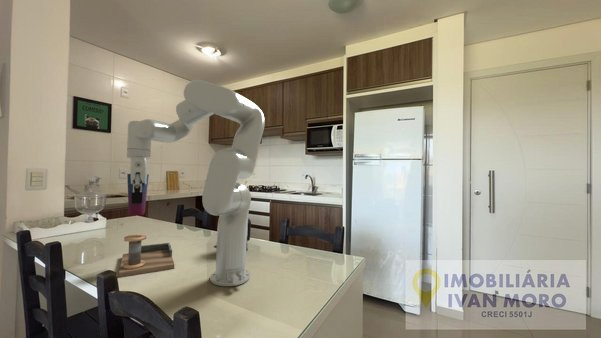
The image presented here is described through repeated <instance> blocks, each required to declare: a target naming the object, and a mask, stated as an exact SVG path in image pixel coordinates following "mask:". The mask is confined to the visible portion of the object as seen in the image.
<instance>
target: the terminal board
mask: <svg viewBox="0 0 601 338" xmlns="http://www.w3.org/2000/svg"><path fill="white" fill-rule="evenodd" d="M146 239H147V235H146V234H142V233H141V234H137V233H136V234H131V235H129V234H128V235H126V236H124V237H123V241H124V242H128V253H123V254H122V256H121V262H120V267H119V270H118V271H119V272H118V278H123V277H129V276H136V275H141V274H149V273H154V272H160V271H167V270H173V269H175V261H174V259H173V248H172V246H171V243H170V242H164V243H156V244H153V243H152V244H144V245H142V241H144V240H146Z"/></svg>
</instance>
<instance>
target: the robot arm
mask: <svg viewBox="0 0 601 338" xmlns="http://www.w3.org/2000/svg"><path fill="white" fill-rule="evenodd" d="M183 96H184V100H182V101H181V102H178V104H176V108H175V112H176V114H177V116H178V118H179V119H177V120H175V121H174V122H171V123H167V122H163V121H161V120H155V119H149V118H147V119H143V120H131V121H129V122H128V124H127V141H126V143H127V144H126V158H128V159H130V168H129V170H130V173H129V174H130V178H131V184H132V185H133V192H132V204H136V203H142V183H145V184H144V185H146V184H147V174H148V160H149V159H151V154H152V153H151V152H152V151H151V149H152V142H159V143H167V144H172V143H176V142H177V141H180V140H182V139H184V138H185V137H188V135H189V134H190V133H191V132H192V130H193V128H194V125H196V124H198V123H200V122H201V121H203V120H205V119H207V118H209V117H211V116H213V115H217V116H219V117H221V118H224V119H228V120H230V121H232V122H235V123H238V124H239V125H240V126H239V127H238V128H237V130H236V132H235V135H234V137H233V142H232V145H231V148H229V147H228V148H222V149H220V150H218V151H216V153H214V155H213V156H212V158H211V160H210V162H209V165H208V170H207V175H206V178H205V183H204V186H203V191H202V198H201V199H202V200H201V201H202V206H203V208H204V210H205V212H207V213H208V214H209V215H212V216H216V217H217V216H219V217H218V221H217V232H216V243H217V244H216V251H215V252H216V255H215V257H216V259H215V271H214V272H212V273H211V275H210V279H209V280H210V283H211V284H213V285H215V286H219V287H233V286H239V285H242V284H245V283H246V282H248V281H249V280H250V278H251V273H250V270H248V269H247V268H246V264H247V263H246V262H247V251H246V243H247V244H248V241H247V223H248V219H249V218H248V217H249V211H250V208H251V202H252V201H251V200H252V196H251V195H252V194H251V192H250V189H249V188H248V186H247V185H245V184H243V183H240V182H237V181H239V180H246V179H248V178H250V177H251V176H253V173H254V170H255V167H256V163H257V158H258V154H259V149H260V146H261V141H262V137H263V133H264V129H265V124H266V120H265V116H264V113H263V111H262V110H261V109H260V107H259V106H258V105H257V104H255V102H253V101H251V100H250V99H248V98H246V96H243V95H241V94H239V93H238V92H236V91H235V90H232V89H230V88H228V87H224V86H221V85H218V84H215V83H212V82H210V81H206V80H203V79H194V80H191V81H190V82H188V83H187V84H186V85H185V87H184V89H183ZM134 179H135V184H134ZM139 182H141V184H139ZM134 191H135V192H134Z"/></svg>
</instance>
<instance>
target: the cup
mask: <svg viewBox="0 0 601 338" xmlns="http://www.w3.org/2000/svg"><path fill="white" fill-rule="evenodd" d="M126 175H127V178H126V180H127V205H128V206H127V209H128V216H140V215H141V216H142V215H145V213H146V203H147V194H148V186H149V185H148V184H149V178H150V177H149V176H150V175H149V174H148V173H147V184H146V185H144V184H145V183H142V203H136V204H132V192H133V185H132V184H131V178H130V173H127V174H126ZM134 184H135V179H134ZM139 184H141V182H139ZM134 192H135V191H134Z"/></svg>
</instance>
